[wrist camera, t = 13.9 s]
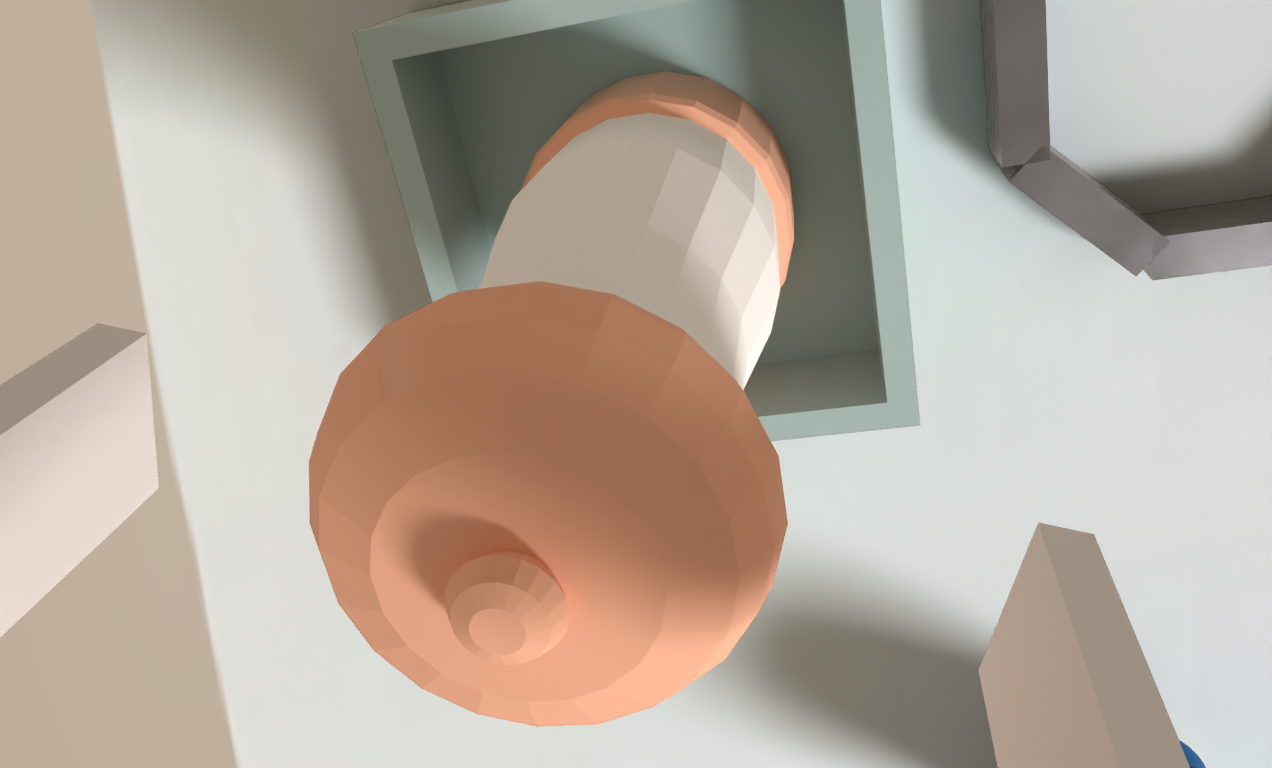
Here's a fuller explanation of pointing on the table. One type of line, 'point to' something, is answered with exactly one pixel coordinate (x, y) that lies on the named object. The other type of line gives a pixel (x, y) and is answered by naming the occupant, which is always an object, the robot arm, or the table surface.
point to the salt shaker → (576, 425)
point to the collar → (1077, 198)
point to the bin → (693, 45)
